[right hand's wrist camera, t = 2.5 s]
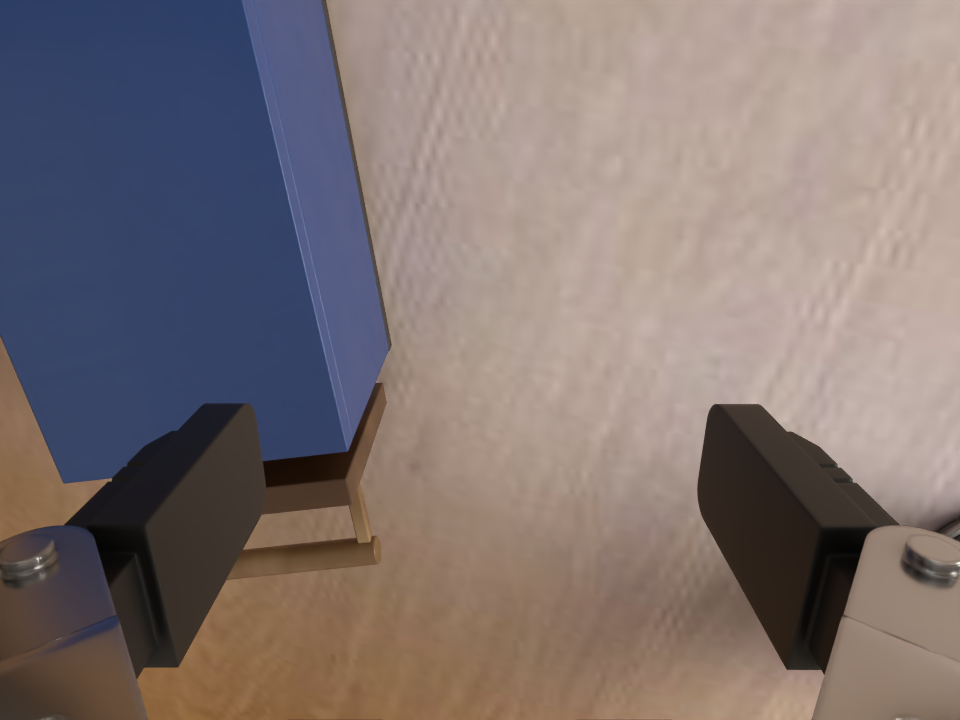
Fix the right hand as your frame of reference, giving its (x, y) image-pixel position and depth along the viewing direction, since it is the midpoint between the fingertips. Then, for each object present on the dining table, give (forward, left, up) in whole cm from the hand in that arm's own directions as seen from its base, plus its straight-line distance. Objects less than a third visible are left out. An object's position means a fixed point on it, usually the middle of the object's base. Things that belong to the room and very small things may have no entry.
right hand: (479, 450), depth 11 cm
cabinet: (+7, +10, -21) cm, 24 cm away
